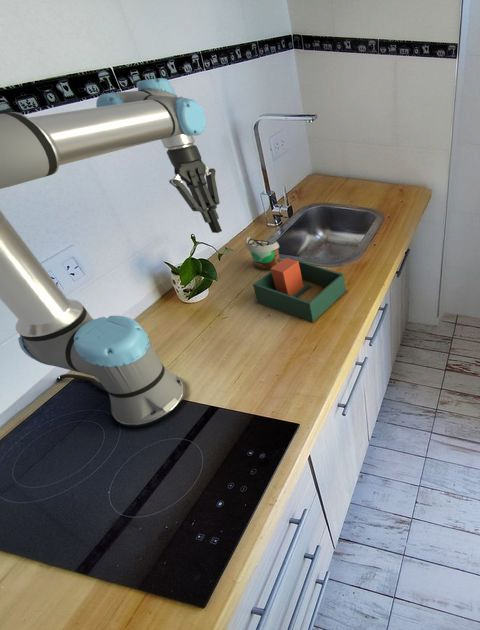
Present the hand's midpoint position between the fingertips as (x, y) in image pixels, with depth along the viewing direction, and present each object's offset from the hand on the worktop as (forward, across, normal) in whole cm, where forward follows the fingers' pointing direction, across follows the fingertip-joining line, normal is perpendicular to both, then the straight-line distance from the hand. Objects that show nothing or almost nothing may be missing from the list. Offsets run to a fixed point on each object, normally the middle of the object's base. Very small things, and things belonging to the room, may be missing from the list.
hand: (217, 231), depth 116 cm
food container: (+21, -18, -9) cm, 29 cm away
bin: (+26, -11, +14) cm, 32 cm away
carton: (+25, -10, +9) cm, 29 cm away
